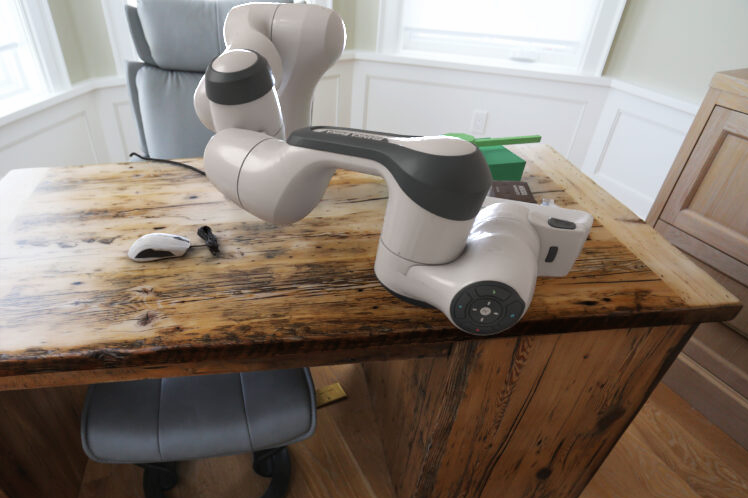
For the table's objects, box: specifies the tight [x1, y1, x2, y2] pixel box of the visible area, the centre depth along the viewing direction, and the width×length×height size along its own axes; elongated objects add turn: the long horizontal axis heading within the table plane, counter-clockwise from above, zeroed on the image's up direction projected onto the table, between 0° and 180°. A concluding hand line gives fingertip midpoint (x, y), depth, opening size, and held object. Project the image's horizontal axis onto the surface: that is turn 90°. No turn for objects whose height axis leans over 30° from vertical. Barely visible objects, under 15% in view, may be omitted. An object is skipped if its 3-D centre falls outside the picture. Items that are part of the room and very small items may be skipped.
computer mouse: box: [127, 225, 221, 262], centre depth 95 cm, size 10×18×4 cm, turn 105°
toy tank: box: [439, 132, 543, 181], centre depth 117 cm, size 18×12×35 cm
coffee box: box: [487, 180, 537, 204], centre depth 84 cm, size 9×6×16 cm
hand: (511, 198), depth 68 cm, fingers open, 8 cm apart
